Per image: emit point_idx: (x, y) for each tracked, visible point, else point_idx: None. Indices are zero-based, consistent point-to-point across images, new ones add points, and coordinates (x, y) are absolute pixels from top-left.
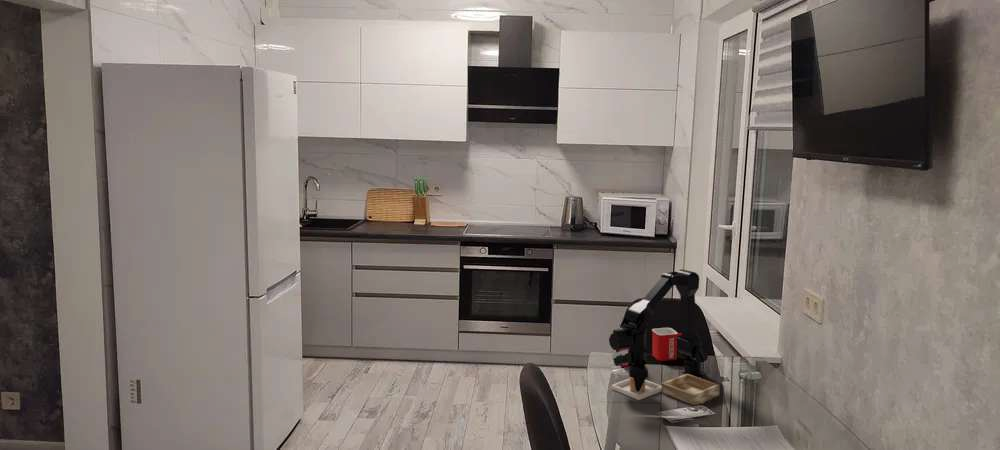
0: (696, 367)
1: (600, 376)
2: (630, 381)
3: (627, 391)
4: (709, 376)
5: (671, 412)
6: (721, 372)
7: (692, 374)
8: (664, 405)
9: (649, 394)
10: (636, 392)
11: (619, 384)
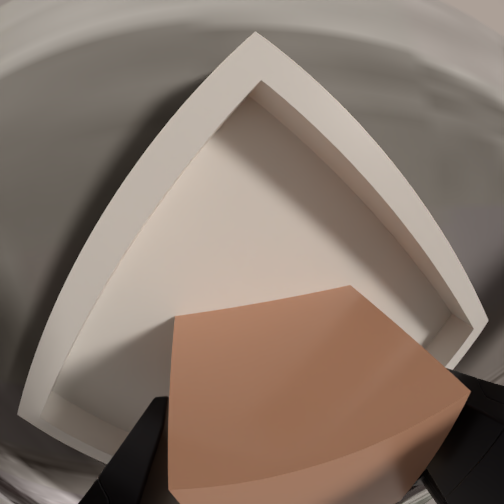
0: (436, 500)
1: (493, 42)
2: (171, 435)
3: (51, 318)
4: (415, 488)
5: (33, 481)
6: None
7: (426, 480)
8: (81, 481)
9: None
10: None
11: (341, 161)
